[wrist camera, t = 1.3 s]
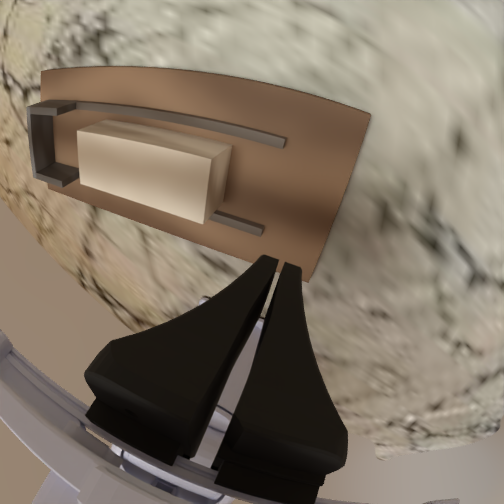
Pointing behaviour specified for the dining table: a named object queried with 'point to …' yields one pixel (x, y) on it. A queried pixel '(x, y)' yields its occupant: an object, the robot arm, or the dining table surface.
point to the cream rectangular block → (155, 167)
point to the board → (220, 129)
